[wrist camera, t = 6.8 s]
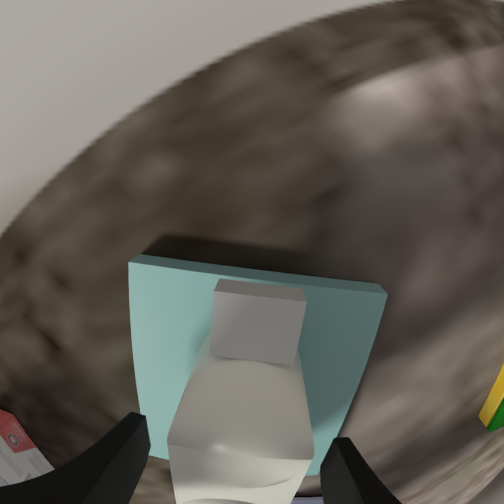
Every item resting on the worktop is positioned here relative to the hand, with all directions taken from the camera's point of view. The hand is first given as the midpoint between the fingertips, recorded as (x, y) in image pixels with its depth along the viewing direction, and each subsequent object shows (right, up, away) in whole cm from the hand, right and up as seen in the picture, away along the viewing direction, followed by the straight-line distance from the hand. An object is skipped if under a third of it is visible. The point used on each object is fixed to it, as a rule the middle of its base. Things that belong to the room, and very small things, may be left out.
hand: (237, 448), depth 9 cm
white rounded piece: (0, +2, +2) cm, 3 cm away
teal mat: (0, +1, +4) cm, 4 cm away
